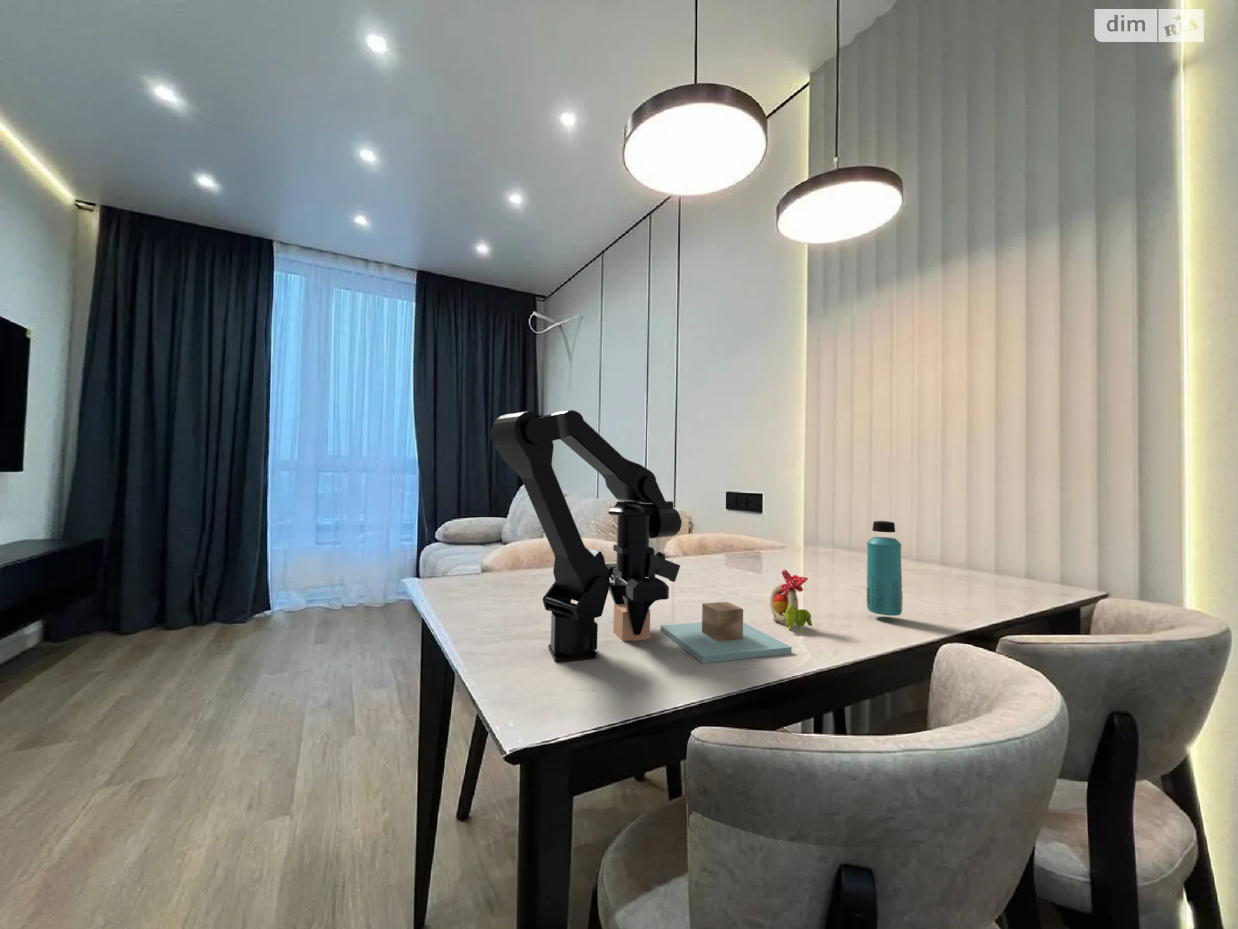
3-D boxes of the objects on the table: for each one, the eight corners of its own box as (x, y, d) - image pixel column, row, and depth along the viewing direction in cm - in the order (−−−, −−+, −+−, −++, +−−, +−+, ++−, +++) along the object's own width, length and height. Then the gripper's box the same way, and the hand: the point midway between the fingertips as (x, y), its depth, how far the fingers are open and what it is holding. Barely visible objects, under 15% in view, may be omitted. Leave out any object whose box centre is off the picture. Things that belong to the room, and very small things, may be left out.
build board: (702, 663, 73) (702, 656, 73) (660, 630, 88) (660, 625, 88) (791, 653, 78) (791, 647, 78) (737, 624, 93) (737, 619, 93)
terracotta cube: (622, 641, 82) (622, 612, 82) (613, 632, 87) (614, 604, 87) (649, 639, 84) (650, 610, 84) (639, 630, 88) (640, 603, 89)
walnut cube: (716, 641, 80) (717, 611, 80) (701, 632, 85) (702, 603, 85) (742, 639, 81) (743, 609, 82) (727, 630, 86) (727, 601, 86)
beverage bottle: (909, 624, 96) (909, 522, 97) (875, 623, 96) (876, 522, 97) (891, 614, 103) (891, 520, 103) (859, 614, 103) (860, 519, 103)
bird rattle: (764, 635, 94) (796, 628, 86) (751, 577, 98) (780, 566, 91) (789, 632, 96) (823, 625, 89) (775, 576, 101) (805, 565, 93)
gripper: (698, 546, 79) (697, 643, 79) (654, 533, 97) (653, 612, 97) (635, 548, 76) (632, 649, 75) (601, 534, 94) (599, 616, 93)
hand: (631, 629), depth 85 cm, fingers open, 6 cm apart
